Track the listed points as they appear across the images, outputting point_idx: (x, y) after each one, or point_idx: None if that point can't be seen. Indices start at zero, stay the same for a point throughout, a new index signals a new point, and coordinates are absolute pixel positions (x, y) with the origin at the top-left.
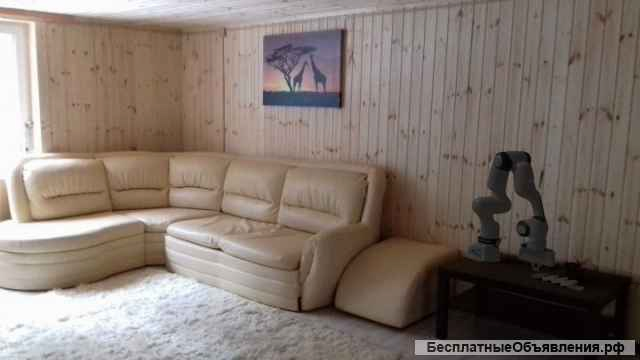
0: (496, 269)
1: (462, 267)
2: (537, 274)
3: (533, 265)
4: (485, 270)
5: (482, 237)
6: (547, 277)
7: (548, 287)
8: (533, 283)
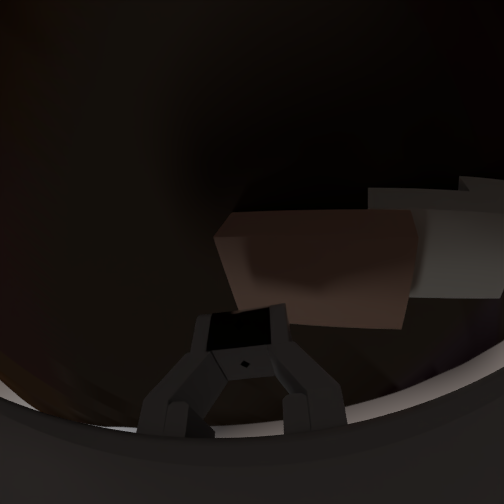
0: (11, 326)
1: (23, 388)
2: (301, 313)
3: (203, 400)
4: (41, 371)
5: None
6: (431, 293)
7: (450, 332)
8: (349, 361)
